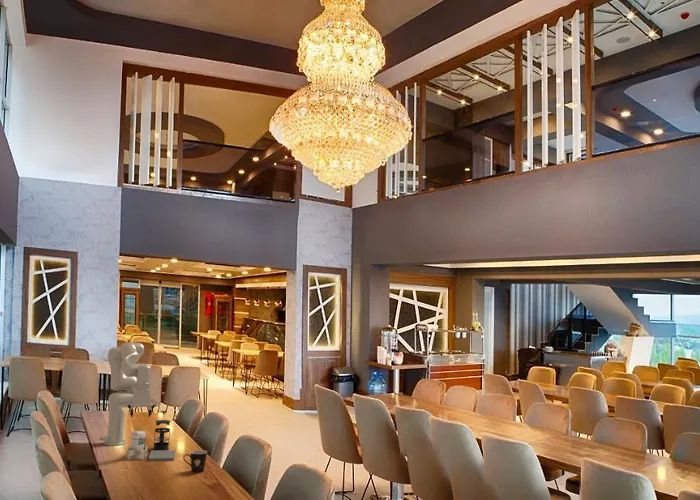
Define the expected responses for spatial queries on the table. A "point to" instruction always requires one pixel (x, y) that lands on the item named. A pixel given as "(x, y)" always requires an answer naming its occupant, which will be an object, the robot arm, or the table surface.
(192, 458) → the coffee mug
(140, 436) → the syrup box
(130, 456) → the frame
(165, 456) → the slate board
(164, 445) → the french press
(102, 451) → the table surface
